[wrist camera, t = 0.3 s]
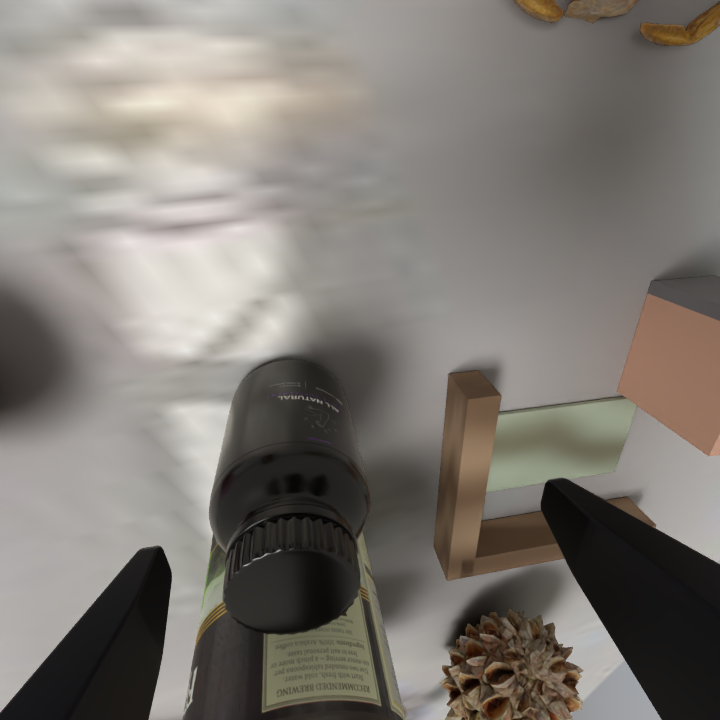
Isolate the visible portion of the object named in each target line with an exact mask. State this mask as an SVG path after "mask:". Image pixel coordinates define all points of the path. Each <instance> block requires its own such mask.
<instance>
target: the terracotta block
mask: <svg viewBox="0 0 720 720" xmlns="http://www.w3.org/2000/svg"><path fill="white" fill-rule="evenodd" d="M617 392H619V393H620V394H621V395H623V396H624V397H626V398H627V399H629V400H630V401H631V402H633V403H634V404H636V405H637V406H638V407H640V408H641V409H643V410H644V411H645V412H647V413H648V414H650V415H651V416H653V417H654V418H655V419H657V420H658V421H660V422H661V423H662V424H664V425H665V426H667V427H668V428H669V429H671V430H672V431H674V432H675V433H677V434H678V435H679V436H681V437H682V438H684V439H685V440H686V441H688V442H689V443H691V444H692V445H693V446H695V447H696V448H698V449H699V450H701V451H702V452H703V453H705V454H706V455H708V456H714V455H720V277H717V276H703V277H692V278H680V279H668V280H656V281H651V284H650V288H649V291H648V294H647V297H646V300H645V304H644V307H643V310H642V313H641V316H640V320H639V323H638V326H637V329H636V332H635V336H634V339H633V342H632V345H631V348H630V352H629V355H628V358H627V361H626V364H625V368H624V371H623V374H622V377H621V380H620V383H619V387H618V390H617Z"/></svg>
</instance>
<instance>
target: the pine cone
mask: <svg viewBox="0 0 720 720" xmlns="http://www.w3.org/2000/svg"><path fill="white" fill-rule="evenodd" d="M562 646H563V644H558V642H557V640H556V638H555V626H554V623H550V624H547V625H545V626H543V621H542V617H541V615H539V616H537V617H536V618H535V619H533V618H529V617H528V618H527V619H526V618H525V619H524V611H521V612H518V613H514V612H513V611H512V610H510V609H508V613H507V615H506V616H505V617H500V619H499V618H498V615H497V613H496V612H492V613H490V614H489V617H487V616H484V615H482V616H481V622H480V625H479V624H478V623H477V625H476V628H474V627H473V626H472V625H470V624H468V625H467V628H466V637H465V636H460V639H456V647H455V648H453V649H450V650H449V654H450V659H451V666H443V665H442V670H443V672H444V673H445V675H446V676H448V677H447V678H446V679H444V680H443V681H442V682H441V683H440V684H441V685H442V686H443V687H445V688H446V689H447V690H448V692H449V693H450V694H449V697H450V701H449V702H448V703H447V705H448V707H451V710H450V711H449V713H448V714H447V717H446V719H445V720H572V716H571V715H570V712H572V711H578V710H582V705H583V702H582V700H581V699H580V698H579V697H578V695H577V694H579V693H578V691H577V690H576V688H575V686H576V685H577V683H578V680H579V679H580V678H581V677H582V676H581V675H580V674H579V673H580V672H582V671H583V670H582V669H581V668H580V667H578V666H576V665H574V664H572V663H569V662H566V661H565V660H566V659H567V658H568V657H569V655H570V654H571V653H572V649H573V647H568V648H564V647H562Z"/></svg>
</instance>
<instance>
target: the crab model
mask: <svg viewBox="0 0 720 720" xmlns="http://www.w3.org/2000/svg"><path fill="white" fill-rule="evenodd" d="M565 1H566V0H565ZM637 1H638V0H574V1H573V2H572V3H570V4H569V6H568V9H567V12H566V13H565V14H564V11H563V10H562V9H561V8H560V7H559V6H558V5H557V4H556V2H555V1H554V0H514V2H515V3H516V4H517V5H518V6H519V7H520V8H521V9H522V10H523V11H524V12H525V13H527V14H528V15H530V16H532V17H534V18H535V19H538V20H542V21H546V22H550V23H552V22H555V21H558V20H560V19H561V17H562V16H563V14H564V15H565V16H566V17H570V18H579V19H585V20H586V21H588V22H591V23H594V22H595V21H596V20H598V19H599V17H602V16H605V17H611V16H616V15H622V14H626V13H627V12H628V11H629V10H630V9H631V8H632V7H633V6H634V5H635V4H636V3H637ZM718 26H720V2H719V3H717V4H716V5H715V6H713V7H712V8H710V9H709V10H707V11H706V12H704V13H703V14H701V15H700V16H699V17H697V18H696V19H695V20H694V21H692V22H691V23H690V24H689V25H688V26H687V28H686V30H685V26H682V25H671V24H664V25H659V24H652V23H641V26H640V33H641V34H642V35H643V36H644V37H645V38H646V39H647V40H648V41H651V42H653V43H655V44H658V45H664V46H683V45H690V44H694V43H696V42H698V41H699V40H701V39H702V38H703V37H705V36H706V35H708V34H710V33H711V32H712V31H713V30H715V29H716V28H717V27H718Z"/></svg>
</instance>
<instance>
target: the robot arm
mask: <svg viewBox="0 0 720 720" xmlns="http://www.w3.org/2000/svg"><path fill="white" fill-rule="evenodd" d="M541 510H542V513H543V515H544V517H545V520H546V522H547V524H548V526H549V528H550V530H551V532H552V534H553V536H554V538H555V540H556V542H557V544H558V546H559V548H560V550H561V552H562V554H563V556H564V558H565V560H566V562H567V564H568V566H569V568H570V570H571V572H572V574H573V575H574V577H575V579H576V581H577V582H578V584H579V586H580V587H581V589H582V591H583V592H584V594H585V595H586V597H587V599H588V600H589V602H590V604H591V605H592V607H593V608H594V610H595V612H596V613H597V615H598V617H599V618H600V620H601V621H602V623H603V625H604V626H605V628H606V630H607V631H608V633H609V635H610V636H611V638H612V639H613V641H614V643H615V644H616V646H617V648H618V649H619V651H620V652H621V654H622V656H623V657H624V659H625V661H626V662H627V664H628V665H629V667H630V669H631V670H632V672H633V674H634V675H635V677H636V678H637V680H638V682H639V683H640V685H641V687H642V688H643V690H644V692H645V693H646V695H647V696H648V698H649V700H650V701H651V703H652V705H653V706H654V708H655V709H656V711H657V713H658V714H659V716H660V718H661V719H662V720H720V564H718V563H717V562H715V561H713V560H711V559H709V558H708V557H706V556H704V555H702V554H700V553H699V552H697V551H695V550H693V549H692V548H690V547H688V546H686V545H684V544H683V543H681V542H679V541H677V540H675V539H674V538H672V537H670V536H668V535H666V534H665V533H663V532H661V531H659V530H657V529H656V528H654V527H652V526H650V525H648V524H647V523H645V522H643V521H641V520H640V519H638V518H636V517H634V516H632V515H631V514H629V513H627V512H625V511H623V510H622V509H620V508H618V507H616V506H614V505H613V504H611V503H609V502H607V501H605V500H604V499H602V498H600V497H598V496H596V495H595V494H593V493H591V492H589V491H587V490H586V489H584V488H582V487H580V486H579V485H577V484H575V483H573V482H571V481H570V480H568V479H566V478H555V479H549V480H547V482H546V483H545V487H544V491H543V496H542V500H541ZM171 582H172V573H171V569H170V566H169V563H168V561H167V558H166V556H165V553H164V550H163V549H162V547H161V546H153V547H147V548H142V549H140V550H139V551H138V552H137V553H136V554H135V555H134V556H133V557H132V558H131V560H130V561H129V562H128V563H127V564H126V566H125V567H124V568H123V569H122V570H121V571H120V573H119V574H118V575H117V576H116V577H115V578H114V580H113V581H112V582H111V583H110V584H109V586H108V587H107V588H106V589H105V590H104V591H103V593H102V594H101V595H100V596H99V597H98V598H97V600H96V601H95V602H94V603H93V604H92V605H91V607H90V608H89V609H88V610H87V611H86V613H85V614H84V615H83V616H82V617H81V618H80V620H79V621H78V622H77V623H76V624H75V625H74V627H73V628H72V629H71V630H70V631H69V633H68V634H67V635H66V636H65V637H64V638H63V640H62V641H61V642H60V643H59V644H58V645H57V647H56V648H55V649H54V650H53V651H52V653H51V654H50V655H49V656H48V657H47V658H46V660H45V661H44V662H43V663H42V664H41V665H40V667H39V668H38V669H37V670H36V671H35V672H34V674H33V675H32V676H31V677H30V678H29V680H28V681H27V682H26V683H25V684H24V685H23V687H22V688H21V689H20V690H19V691H18V692H17V694H16V695H15V696H14V697H13V698H12V700H11V701H10V702H9V703H8V704H7V705H6V707H5V708H4V709H3V710H2V711H1V712H0V720H148V719H149V714H150V710H151V706H152V701H153V697H154V692H155V688H156V684H157V679H158V675H159V670H160V665H161V660H162V654H163V647H164V639H165V631H166V623H167V615H168V607H169V598H170V590H171Z"/></svg>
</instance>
